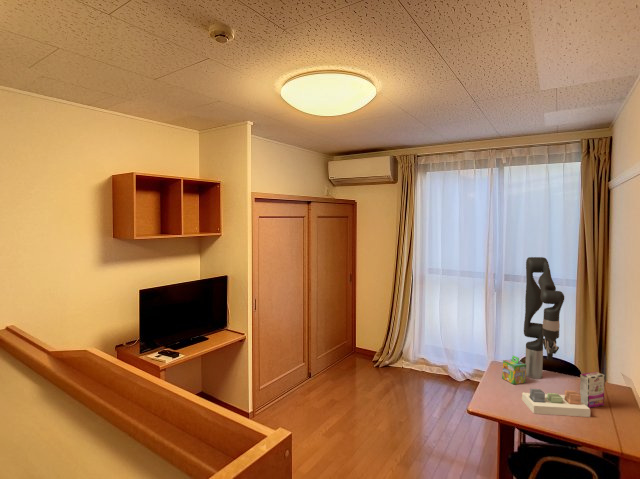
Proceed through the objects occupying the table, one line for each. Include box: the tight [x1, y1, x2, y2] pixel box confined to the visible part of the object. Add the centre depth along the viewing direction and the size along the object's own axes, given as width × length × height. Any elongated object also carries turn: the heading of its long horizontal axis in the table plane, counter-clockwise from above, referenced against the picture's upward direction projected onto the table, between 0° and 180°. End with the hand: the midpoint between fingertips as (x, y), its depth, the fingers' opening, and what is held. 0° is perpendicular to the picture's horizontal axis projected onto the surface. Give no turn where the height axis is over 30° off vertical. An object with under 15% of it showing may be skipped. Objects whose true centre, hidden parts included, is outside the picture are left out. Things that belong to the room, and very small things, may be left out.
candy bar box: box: [579, 371, 606, 409], centre depth 190 cm, size 11×5×16 cm, turn 105°
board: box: [521, 392, 591, 418], centre depth 187 cm, size 14×26×4 cm, turn 83°
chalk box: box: [501, 355, 527, 385], centre depth 218 cm, size 9×9×15 cm
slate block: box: [529, 388, 546, 403], centre depth 188 cm, size 5×5×6 cm
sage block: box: [546, 392, 563, 404], centre depth 187 cm, size 5×5×6 cm
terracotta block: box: [564, 390, 581, 405], centre depth 186 cm, size 5×5×6 cm
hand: (549, 359), depth 193 cm, fingers closed
